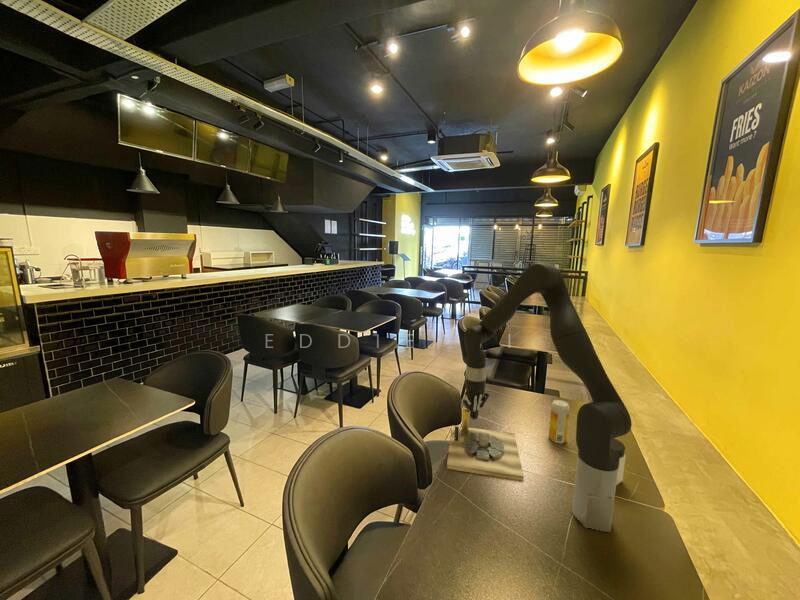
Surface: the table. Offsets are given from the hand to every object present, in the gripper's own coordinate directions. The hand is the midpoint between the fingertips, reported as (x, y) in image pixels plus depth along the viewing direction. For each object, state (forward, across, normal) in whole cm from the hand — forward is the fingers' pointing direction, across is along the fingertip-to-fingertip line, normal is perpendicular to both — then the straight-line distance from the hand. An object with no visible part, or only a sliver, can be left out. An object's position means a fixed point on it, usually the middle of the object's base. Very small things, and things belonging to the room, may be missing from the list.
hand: (474, 418), depth 123 cm
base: (+7, -4, -10) cm, 13 cm away
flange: (+5, -4, -8) cm, 10 cm away
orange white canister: (+7, +26, -18) cm, 32 cm away
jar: (+7, +22, -38) cm, 44 cm away
